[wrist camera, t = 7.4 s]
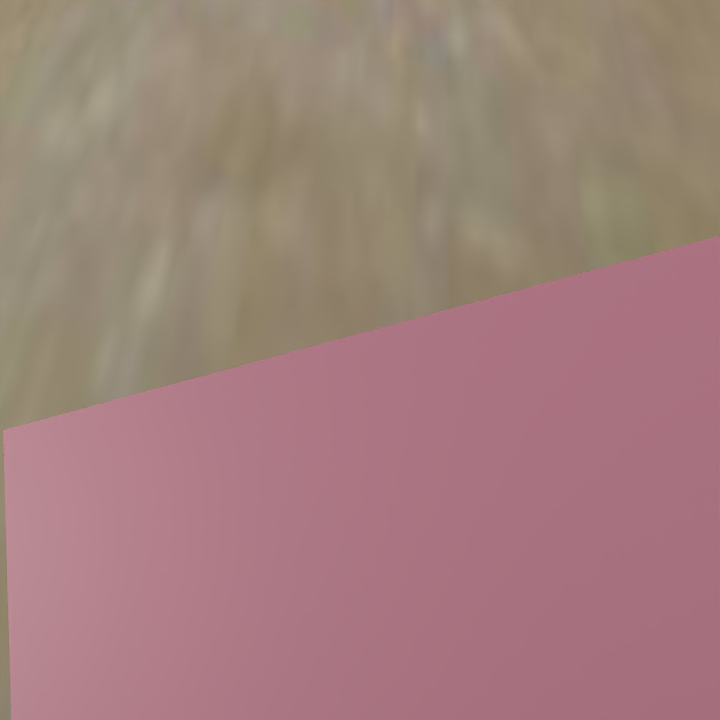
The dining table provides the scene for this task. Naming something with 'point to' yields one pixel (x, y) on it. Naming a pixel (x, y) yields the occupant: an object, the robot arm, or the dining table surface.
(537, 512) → the carton
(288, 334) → the dining table surface
